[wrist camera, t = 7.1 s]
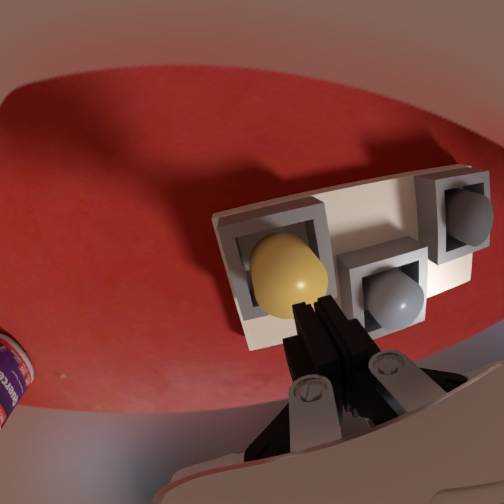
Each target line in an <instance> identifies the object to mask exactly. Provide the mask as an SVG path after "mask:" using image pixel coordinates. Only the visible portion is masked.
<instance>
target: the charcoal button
mask: <svg viewBox="0 0 504 504" xmlns="http://www.w3.org/2000/svg"><path fill="white" fill-rule="evenodd" d="M444 194H445V212H446V234H447V235H449V236H451V237H453V238H456V239H458V240H460V241H462V242H464V243H466V244H468V245H470V246H473V247H475V246H479V245H480V244H482V243H483V242H484V241H485V240H486V238H487V237H488V235H489V233H490V231H491V228H492V224H493V208H492V204H491V202H490V200H489V199H488V198H487V197H486V196H485V195H482V194H478V193H475V192H471V191H467V190H463V189H459V188H453V189H448V190H444Z"/></svg>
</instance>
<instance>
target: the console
mask: <svg viewBox="0 0 504 504" xmlns="http://www.w3.org/2000/svg"><path fill="white" fill-rule="evenodd" d="M453 188H459V189H463V190H467V191H471V192H475V193H478V194H482V195H485V196H486V197H487V198H488V199H489V200H490V178H489V171H488V170H482V169H476V168H471V166H468V165H461V164H455V165H448V166H441V167H435V168H429V169H422V170H416V171H410V172H404V173H399V174H393V175H387V176H382V177H376V178H371V179H366V180H360V181H355V182H350V183H345V184H340V185H335V186H330V187H325V188H321V189H316V190H311V191H306V192H302V193H297V194H293V195H288V196H284V197H279V198H275V199H271V200H266V201H262V202H258V203H254V204H250V205H245V206H241V207H237V208H233V209H229V210H225V211H221V212H217V213H213V216H212V223H213V226H214V230H215V234H216V237H217V241H218V245H219V248H220V252H221V255H222V259H223V262H224V266H225V269H226V273H227V276H228V280H229V283H230V287H231V290H232V293H233V297H234V300H235V304H236V307H237V310H238V314H239V317H240V320H241V324H242V327H243V330H244V334H245V337H246V340H247V343H248V347H249V350H250V351H252V350H256V349H261V348H265V347H269V346H274V345H278V344H282V343H283V341H282V339H283V338H287V337H291V336H295V335H297V331H296V325H295V320H294V319H281V318H277V317H274V316H271V315H270V314H268V313H266V312H265V311H264V310H263V309H262V308H261V307H260V305H259V304H258V302H257V300H256V297H255V293H254V288H253V282H252V276H251V270H250V255H251V252H252V250H253V248H254V246H255V245H256V243H257V242H258V241H259V240H260V239H262V238H263V237H264V236H266V235H268V234H270V233H273V232H278V231H285V232H291V233H293V234H296V235H297V236H299V237H300V238H302V239H303V240H304V241H305V243H306V244H307V245H308V246H309V248H310V249H311V250H312V251H313V253H314V254H315V255H316V256H317V258H318V259H319V260H320V261H321V263H322V264H323V265H324V267H325V269H326V272H327V276H328V288H327V292H326V295H325V296H327V295H331V296H332V297H333V299H334V300H335V302H336V303H337V304H338V306H339V307H340V309H341V310H342V312H343V313H344V315H345V316H346V317H347V319H348V320H350V319H353V318H357V319H358V320H359V322H360V323H361V324H362V326H363V327H364V328H365V330H366V331H367V333H368V334H369V335H370V337H371V338H372V339H376V338H379V337H382V336H385V335H387V334H390V333H393V332H396V331H387V330H385V329H383V328H382V327H381V326H380V325H379V323H378V322H377V321H376V320H375V318H374V317H373V316H372V315H371V313H370V312H369V311H368V310H367V308H366V307H365V306H364V302H363V287H362V277H366V276H369V275H373V274H376V273H379V272H383V271H386V270H389V269H392V268H396V267H397V268H398V269H400V270H401V271H402V272H404V273H405V274H406V275H407V276H409V277H410V278H411V279H412V280H414V281H415V282H416V283H418V284H419V285H420V286H421V288H422V290H423V293H424V303H423V307H422V309H421V312H420V313H419V315H418V316H417V318H416V319H415V320H414V321H413V322H412V323H411V324H410V325H409V326H411V325H414V324H416V323H419V322H421V321H424V320H425V312H426V298H429V297H431V296H434V295H436V294H439V293H441V292H444V291H446V290H449V289H451V288H453V287H456V286H458V285H461V284H463V283H465V282H467V281H470V278H471V267H472V252H475V251H478V250H480V249H483V248H485V247H488V246H489V242H490V233H489V235H488V237H487V238H486V240H485V241H484V242H483V243H482V244H480V245H479V246H475V247H473V246H470V245H468V244H466V243H464V242H462V241H460V240H458V239H456V238H453V237H451V236H449V235H447V234H446V212H445V194H444V190H448V189H453ZM314 311H315V310H314ZM409 326H407V327H409Z"/></svg>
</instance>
